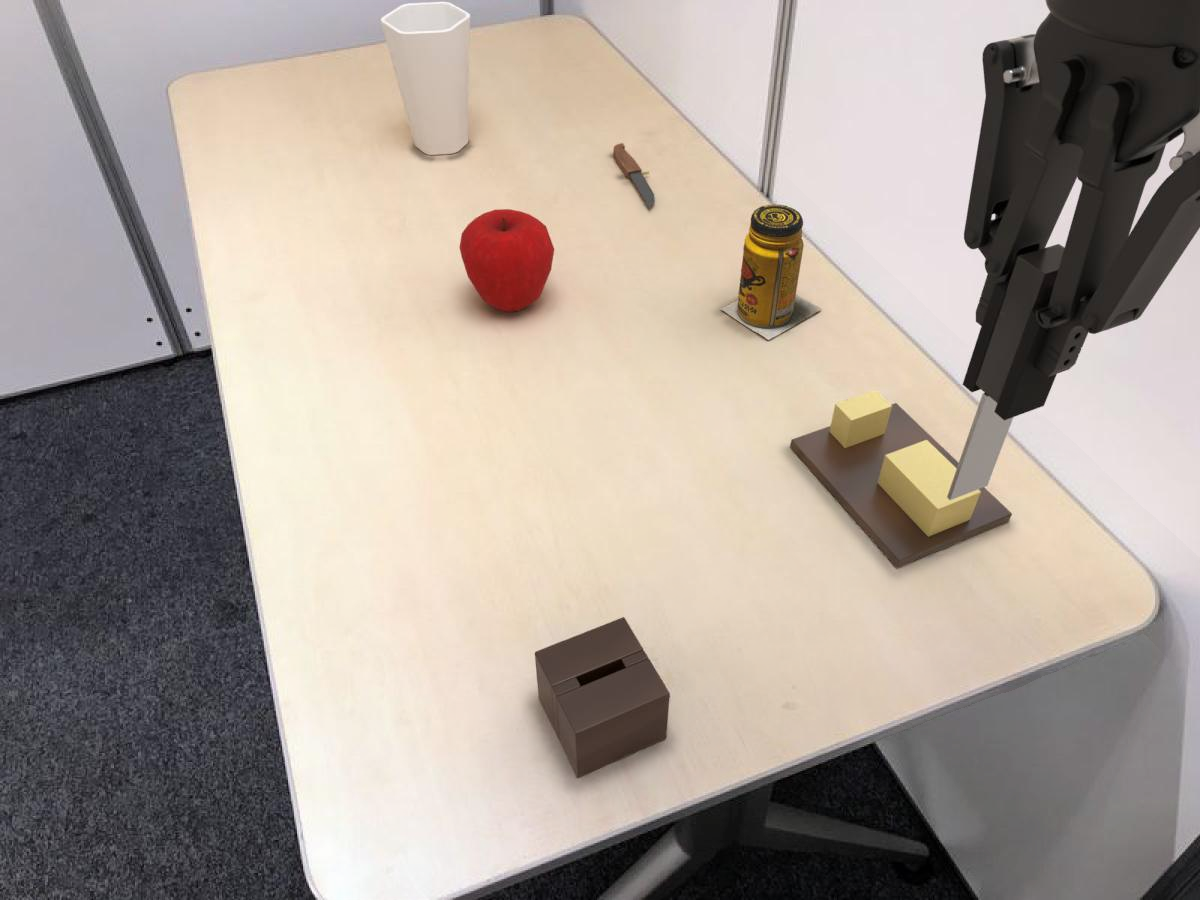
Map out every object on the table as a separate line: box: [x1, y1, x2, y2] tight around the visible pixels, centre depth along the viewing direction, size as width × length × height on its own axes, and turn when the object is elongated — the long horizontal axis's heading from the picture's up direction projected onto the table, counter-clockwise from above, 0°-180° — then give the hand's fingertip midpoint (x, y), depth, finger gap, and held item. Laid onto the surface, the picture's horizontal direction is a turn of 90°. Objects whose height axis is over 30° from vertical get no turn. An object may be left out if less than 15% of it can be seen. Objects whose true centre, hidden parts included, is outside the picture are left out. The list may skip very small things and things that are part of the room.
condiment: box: [719, 204, 823, 341], centre depth 102 cm, size 7×8×12 cm
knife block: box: [534, 616, 671, 778], centre depth 68 cm, size 7×7×6 cm
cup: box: [380, 1, 471, 156], centre depth 128 cm, size 11×10×17 cm
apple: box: [459, 208, 555, 313], centre depth 103 cm, size 10×10×11 cm
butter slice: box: [829, 389, 892, 448], centre depth 89 cm, size 2×4×4 cm, turn 115°
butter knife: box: [947, 243, 1065, 500], centre depth 52 cm, size 2×3×16 cm, turn 115°
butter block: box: [877, 440, 981, 537], centre depth 83 cm, size 7×4×4 cm, turn 25°
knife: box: [613, 142, 656, 209], centre depth 126 cm, size 17×1×3 cm
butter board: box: [789, 402, 1013, 568], centre depth 87 cm, size 16×12×1 cm
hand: (1002, 394), depth 52 cm, fingers closed on butter knife, 2 cm apart
